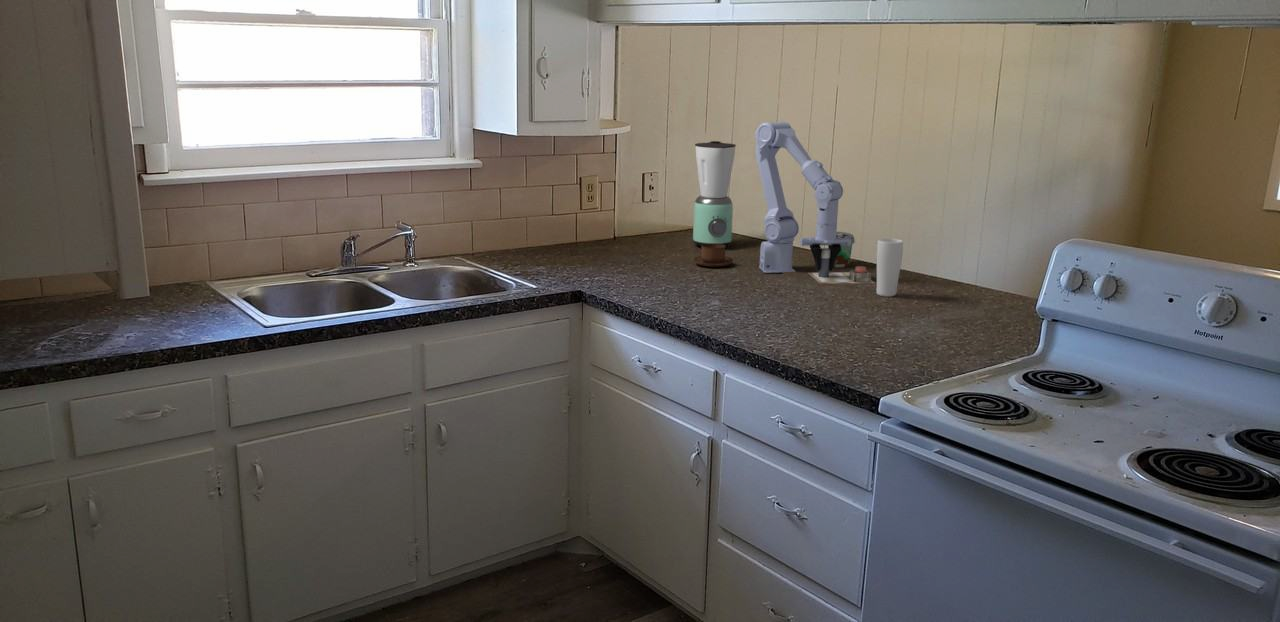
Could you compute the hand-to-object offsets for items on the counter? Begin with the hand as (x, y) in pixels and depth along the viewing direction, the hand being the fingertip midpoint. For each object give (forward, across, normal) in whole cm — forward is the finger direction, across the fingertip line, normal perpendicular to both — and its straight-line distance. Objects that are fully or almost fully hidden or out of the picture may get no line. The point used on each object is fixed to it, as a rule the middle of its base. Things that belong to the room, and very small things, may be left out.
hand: (823, 270), depth 285 cm
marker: (+2, 0, 0) cm, 2 cm away
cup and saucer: (+3, -29, +21) cm, 36 cm away
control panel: (+3, +5, -1) cm, 6 cm away
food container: (+3, +11, +17) cm, 20 cm away
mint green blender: (+3, -24, +52) cm, 57 cm away
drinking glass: (+3, +12, -20) cm, 23 cm away
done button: (0, +9, -5) cm, 10 cm away
